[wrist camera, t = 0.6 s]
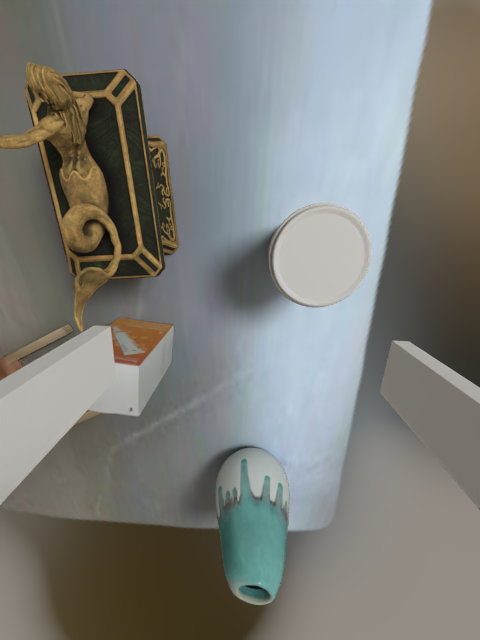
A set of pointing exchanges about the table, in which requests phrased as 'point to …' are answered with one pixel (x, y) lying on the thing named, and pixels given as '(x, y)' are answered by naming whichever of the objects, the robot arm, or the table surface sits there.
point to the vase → (253, 523)
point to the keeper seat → (11, 363)
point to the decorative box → (101, 175)
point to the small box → (136, 365)
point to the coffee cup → (319, 255)
